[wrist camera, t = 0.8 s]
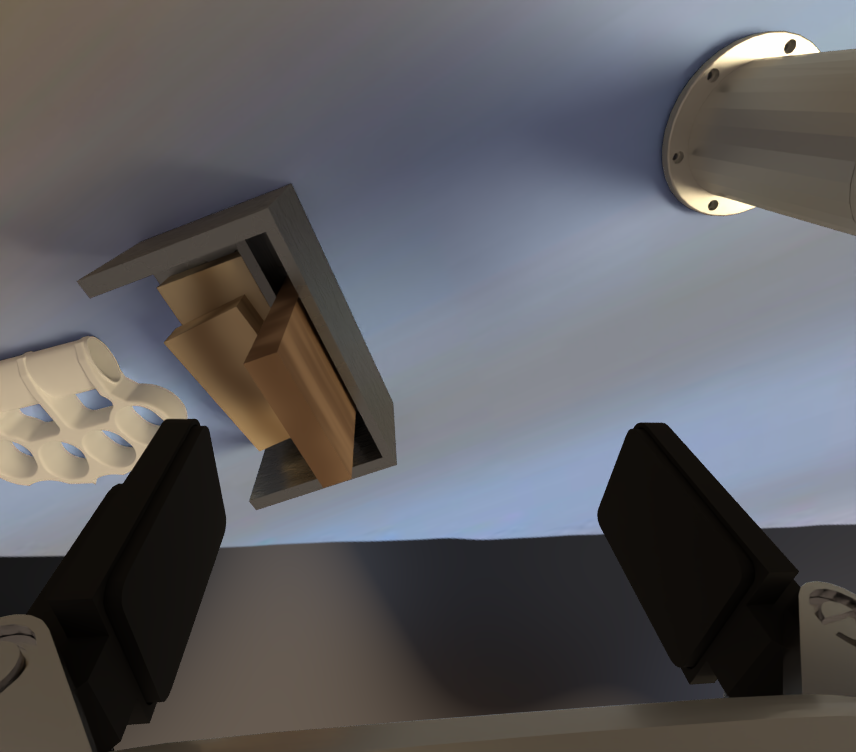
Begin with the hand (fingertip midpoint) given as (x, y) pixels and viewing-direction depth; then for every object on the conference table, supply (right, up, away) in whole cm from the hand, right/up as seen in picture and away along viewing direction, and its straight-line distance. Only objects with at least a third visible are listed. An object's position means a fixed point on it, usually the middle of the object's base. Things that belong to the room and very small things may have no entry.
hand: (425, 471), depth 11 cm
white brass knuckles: (-33, -1, +34) cm, 47 cm away
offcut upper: (-15, +3, +29) cm, 32 cm away
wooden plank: (-9, +7, +30) cm, 32 cm away
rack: (-13, +6, +31) cm, 34 cm away
